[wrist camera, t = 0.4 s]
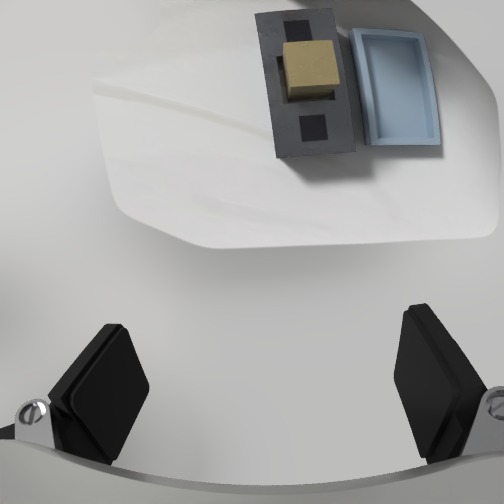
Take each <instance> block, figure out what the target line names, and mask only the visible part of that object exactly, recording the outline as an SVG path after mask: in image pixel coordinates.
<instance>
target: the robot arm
mask: <svg viewBox="0 0 504 504" xmlns="http://www.w3.org/2000/svg"><path fill="white" fill-rule="evenodd" d="M394 382H395V385H396V387H397V390H398V393H399V396H400V398H401V401H402V404H403V407H404V409H405V412H406V415H407V418H408V421H409V424H410V427H411V430H412V433H413V436H414V439H415V442H416V444H417V448H418V451H419V454H420V457H421V458H426V461H427V464H428V465H425V466H421V467H417V468H412V469H408V470H404V471H399V472H395V473H389V474H384V475H378V476H372V477H367V478H360V479H354V480H347V481H338V482H328V483H318V484H303V485H276V486H275V485H272V486H261V485H260V486H258V485H231V484H215V483H205V482H196V481H187V480H180V479H173V478H166V477H160V476H154V475H149V474H144V473H139V472H135V471H130V470H126V469H121V468H117V467H113V466H111V464H112V462H113V461H114V460H116V459H117V458H118V456H119V454H120V452H121V450H122V447H123V445H124V443H125V441H126V439H127V437H128V435H129V433H130V430H131V428H132V426H133V424H134V422H135V420H136V418H137V416H138V414H139V412H140V409H141V407H142V405H143V403H144V401H145V399H146V397H147V395H148V393H149V383H148V381H147V378H146V376H145V373H144V371H143V369H142V366H141V364H140V361H139V359H138V356H137V354H136V351H135V349H134V346H133V343H132V341H131V338H130V335H129V332H128V330H127V329H126V328H124V327H123V326H122V325H121V324H106V325H104V326H103V328H102V329H101V330H100V331H99V332H98V334H97V335H96V336H95V337H94V338H93V340H92V341H91V342H90V343H89V344H88V345H87V347H86V348H85V349H84V350H83V351H82V353H81V354H80V355H79V356H78V357H77V359H76V360H75V361H74V363H73V364H72V365H71V366H70V367H69V369H68V370H67V371H66V372H65V373H64V375H63V376H62V378H61V379H60V380H59V381H58V382H57V384H56V385H55V386H54V387H53V389H52V390H51V391H50V393H49V394H48V397H49V399H50V400H51V403H50V405H49V404H48V403H47V402H46V401H44V400H42V399H33V400H30V401H28V402H26V403H24V404H23V405H22V406H21V407H20V408H19V409H18V411H17V413H16V415H15V423H14V424H11V425H9V426H6V427H3V428H1V429H0V504H504V387H503V386H498V387H493V388H491V389H489V390H488V389H487V388H486V386H485V385H484V383H483V382H482V380H481V378H480V377H479V375H478V374H477V372H476V371H475V369H474V368H473V366H472V365H471V363H470V362H469V360H468V359H467V357H466V356H465V354H464V353H463V351H462V350H461V348H460V347H459V346H458V344H457V343H456V341H455V340H454V339H453V338H452V337H451V335H450V334H449V333H448V331H447V330H446V328H445V327H444V326H443V324H442V323H441V322H440V320H439V319H438V318H437V316H436V315H435V314H434V312H433V311H432V310H431V308H430V307H429V306H428V305H427V304H426V303H424V304H417V305H411V306H409V308H408V310H407V311H404V314H403V321H402V328H401V335H400V341H399V348H398V354H397V359H396V365H395V370H394Z"/></svg>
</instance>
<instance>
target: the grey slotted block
mask: <svg viewBox="0 0 504 504" xmlns="http://www.w3.org/2000/svg"><path fill="white" fill-rule="evenodd" d="M255 19H256V25H257V31H258V37H259V43H260V49H261V55H262V61H263V68H264V74H265V80H266V87H267V94H268V101H269V108H270V115H271V122H272V129H273V136H274V144H275V151H276V158H286V157H295V156H306V155H318V154H331V153H346V152H356V151H355V142H354V132H353V124H352V116H351V109H350V101H349V95H348V88H347V82H346V76H345V70H344V64H343V59H342V54H341V48H340V43H339V39H338V34H337V29H336V25H335V20H334V16H333V12H332V9H300V10H285V11H274V12H265V13H257V14H255ZM318 40H332V42H333V47H334V52H335V58H336V63H337V69H338V75H339V81H340V85H339V86H337V87H336V88H335V89H334V90H333V91H332V92H331V93H330V94H329V95H328V96H327V97H326V98H325V99H314V100H301V101H290V102H288V98H287V91H286V85H285V78H284V72H283V43H287V42H300V41H318Z"/></svg>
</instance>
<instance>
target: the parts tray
mask: <svg viewBox="0 0 504 504" xmlns="http://www.w3.org/2000/svg"><path fill="white" fill-rule="evenodd" d="M348 36H349V40H350V45H351V50H352V55H353V60H354V66H355V72H356V77H357V83H358V90H359V96H360V103H361V111H362V118H363V127H364V135H365V145H370V146H374V145H441V142H440V130H439V120H438V111H437V104H436V96H435V90H434V84H433V78H432V72H431V67H430V62H429V57H428V52H427V48H426V43H425V39H424V35H423V33H416V32H408V31H398V30H386V29H370V28H352V30H351V31H350V33H349V34H348Z"/></svg>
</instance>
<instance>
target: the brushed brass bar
mask: <svg viewBox="0 0 504 504" xmlns="http://www.w3.org/2000/svg"><path fill="white" fill-rule="evenodd" d="M283 72H284V78H285V85H286V91H287V98H288V102H290V101H301V100H314V99H325V98H326V97H327V96H328V95H329V94H330V93H331V92H332V91H333V90H334V89H335V88H336V87H337V86H339V85H340V81H339V75H338V69H337V63H336V58H335V52H334V47H333V42H332V40H318V41H300V42H287V43H283Z"/></svg>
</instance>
